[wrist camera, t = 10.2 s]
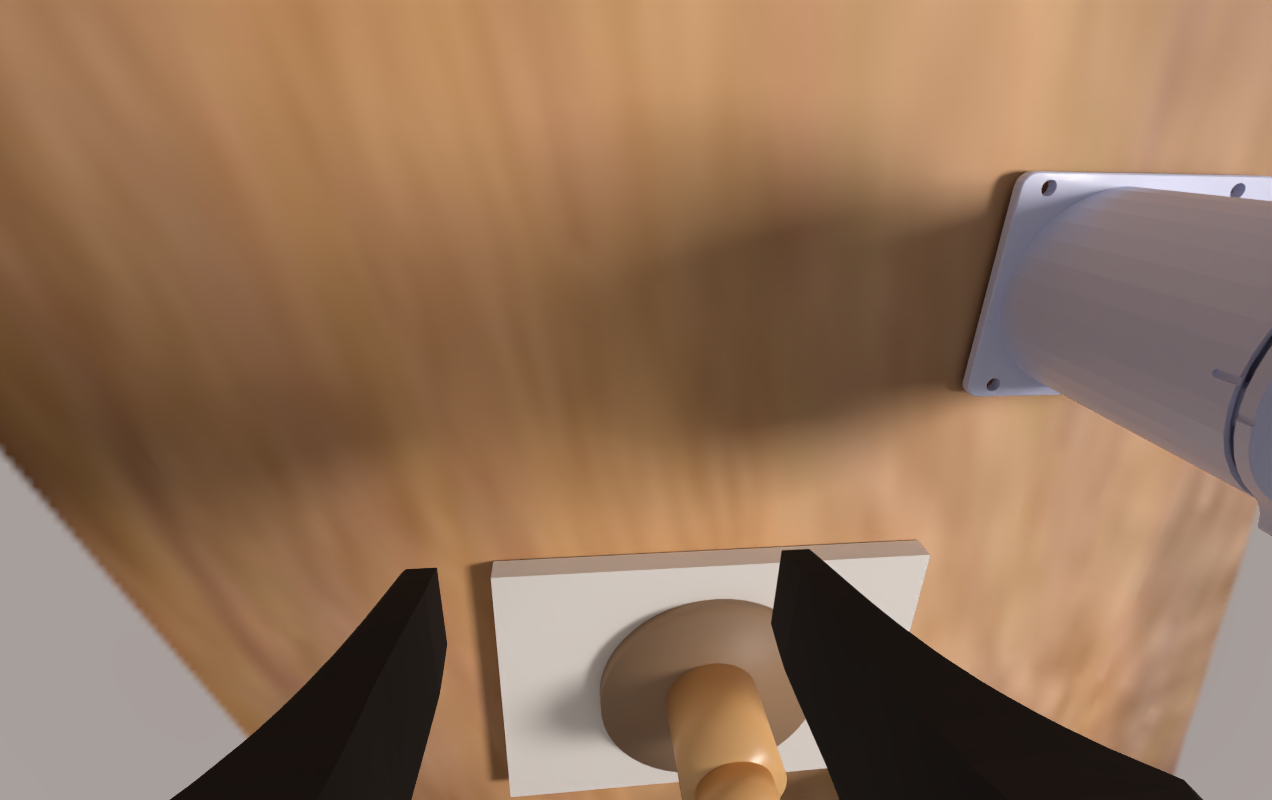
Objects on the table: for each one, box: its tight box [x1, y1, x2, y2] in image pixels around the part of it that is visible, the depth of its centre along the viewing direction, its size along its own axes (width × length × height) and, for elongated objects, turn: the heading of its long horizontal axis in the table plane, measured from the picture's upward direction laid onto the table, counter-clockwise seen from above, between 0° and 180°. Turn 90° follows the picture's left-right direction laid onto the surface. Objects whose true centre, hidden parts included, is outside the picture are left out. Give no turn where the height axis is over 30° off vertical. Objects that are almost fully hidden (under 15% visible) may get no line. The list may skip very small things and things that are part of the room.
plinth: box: [491, 540, 930, 797], centre depth 27 cm, size 18×13×2 cm
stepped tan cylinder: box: [666, 663, 787, 800], centre depth 24 cm, size 4×4×6 cm
